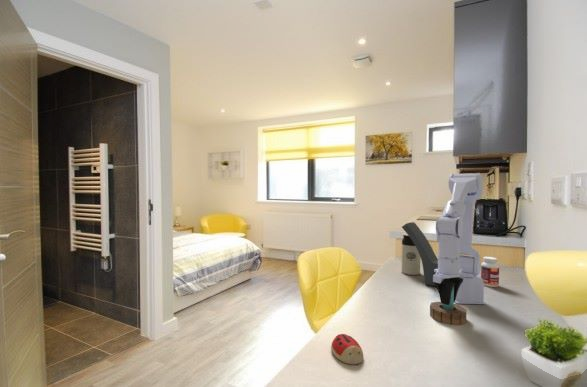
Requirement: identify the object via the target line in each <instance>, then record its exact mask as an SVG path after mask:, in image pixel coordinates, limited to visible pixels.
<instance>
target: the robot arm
mask: <svg viewBox="0 0 587 387" xmlns="http://www.w3.org/2000/svg"><path fill="white" fill-rule="evenodd" d="M483 186H484V178H483V174H482V173H480V172H477V173H451V174H450V175H449V176H448V189H449V191H450V193H451V197H450V198H451V199H450V200H448V201H447V202H446V203H445V206H444V207H443V208H444V209H443V211H442V214H441V216H440V217H439V218H437V219H436V222H435V233H436V241H437V242H438V243H437V244H438V245H437V246H438V247H437V253H438V254H437V259H438V269H434V272H436V274H435V275H433V282H434V283H435V285H436V286H435V287H436V289H437V292H438V295H439V299H440V302H441V303H443V304H446V305H449V303H450V299H451V292H452V289H453V287H454V304H457V305H462V304H463V305H485V304H486V303H485V302H484V301H485V298H484V297H485V296H484V295H485V294H484V292H485V285H484V283H483V280H482V278H481V275H480V274H481V264H482V262H481V255H480V253H479V251H477V250H476V248H474V247H473V246H472V244H473V243H472V242H473V232H474V231H473V228H474V227H473V226H474V214H475V205H476V202H477V201H478V200H480V199H482V195H483V189H484V188H483Z"/></svg>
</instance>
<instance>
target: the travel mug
mask: <svg viewBox="0 0 587 387" xmlns="http://www.w3.org/2000/svg"><path fill="white" fill-rule="evenodd" d="M402 237H403V238H402V240H401V272H402V273H403V274H404V275H408V276H418V275H420V274H421V257H420V255H419V252H418V250H417V248H416V246H415V244H414V243H413V241H412V239H411V238H410V237H409V235H408V234H407V233H406V232H403V233H402Z"/></svg>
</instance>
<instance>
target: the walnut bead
mask: <svg viewBox="0 0 587 387" xmlns="http://www.w3.org/2000/svg"><path fill="white" fill-rule="evenodd" d="M429 316H430V318H432V319H433V320H435V321H437V322H439V323H442V324H447V325H454V326H455V325H456V326H460V325H464V324H467V309H466V308H465V307H463V306H462V305H461V304H457V303H454V311H449V310H444V309H442V303H441V301H435V302H434V301H433V302H431V303H430V304H429Z"/></svg>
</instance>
